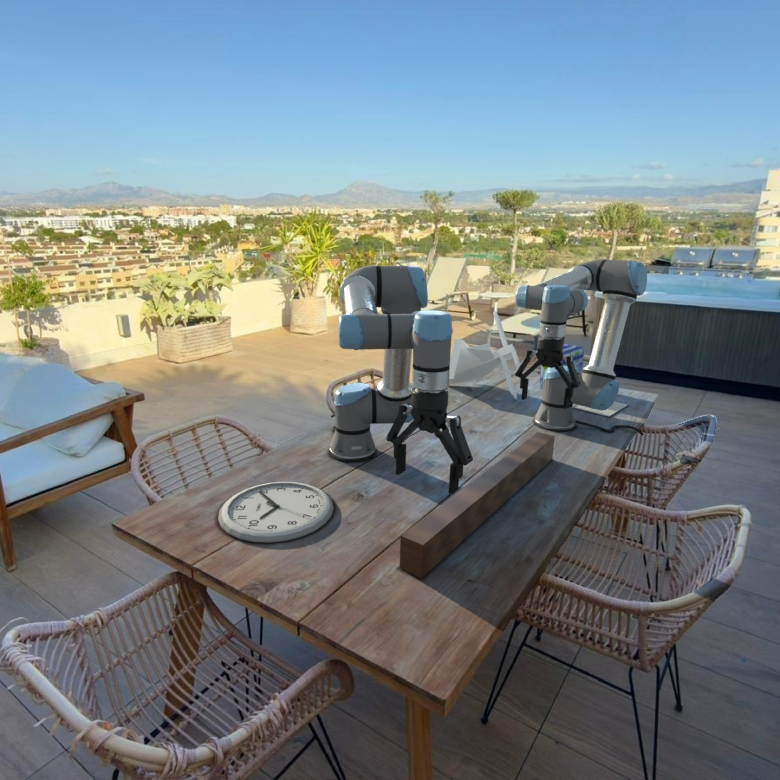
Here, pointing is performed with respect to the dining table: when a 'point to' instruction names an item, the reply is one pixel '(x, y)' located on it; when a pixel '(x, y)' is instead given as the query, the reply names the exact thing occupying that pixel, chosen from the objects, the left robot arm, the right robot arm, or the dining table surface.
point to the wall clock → (275, 512)
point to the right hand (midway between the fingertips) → (544, 403)
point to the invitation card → (608, 412)
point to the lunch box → (567, 350)
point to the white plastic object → (481, 360)
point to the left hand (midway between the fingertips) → (426, 481)
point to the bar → (472, 506)
